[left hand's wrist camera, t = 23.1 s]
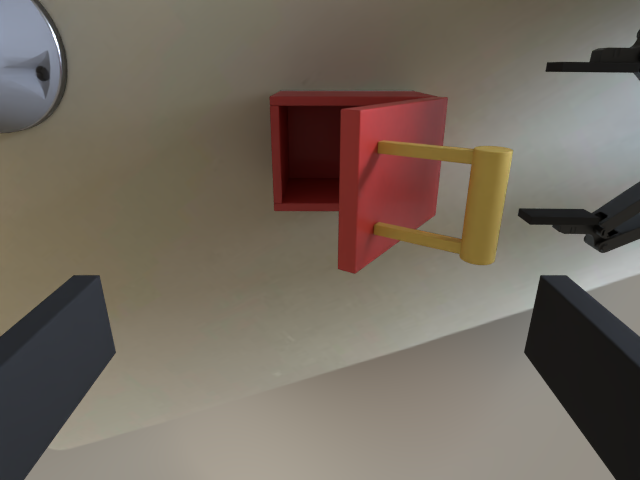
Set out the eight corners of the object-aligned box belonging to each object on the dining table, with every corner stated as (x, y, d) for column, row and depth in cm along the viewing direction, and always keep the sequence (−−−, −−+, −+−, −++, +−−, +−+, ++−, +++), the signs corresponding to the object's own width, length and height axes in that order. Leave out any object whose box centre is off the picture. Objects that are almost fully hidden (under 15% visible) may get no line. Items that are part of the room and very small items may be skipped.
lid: (337, 269, 27) (476, 309, 23) (340, 108, 24) (506, 118, 19) (421, 212, 38) (527, 232, 33) (432, 96, 34) (552, 100, 30)
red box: (283, 182, 48) (274, 211, 38) (280, 90, 44) (269, 96, 35) (405, 182, 48) (426, 211, 38) (412, 90, 44) (438, 96, 35)
